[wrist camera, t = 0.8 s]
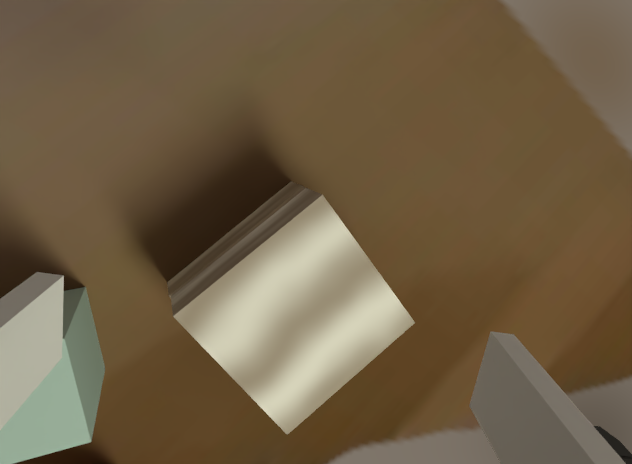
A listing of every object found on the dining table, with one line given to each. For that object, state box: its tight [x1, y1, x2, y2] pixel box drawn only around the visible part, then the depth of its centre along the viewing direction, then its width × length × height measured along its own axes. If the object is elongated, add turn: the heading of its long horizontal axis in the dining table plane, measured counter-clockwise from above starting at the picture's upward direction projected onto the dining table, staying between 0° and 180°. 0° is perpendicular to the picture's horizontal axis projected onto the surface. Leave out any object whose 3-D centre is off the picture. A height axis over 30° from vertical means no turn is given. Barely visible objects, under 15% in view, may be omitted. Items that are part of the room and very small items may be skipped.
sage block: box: [0, 287, 105, 464], centre depth 33 cm, size 7×7×10 cm
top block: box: [171, 188, 415, 434], centre depth 38 cm, size 13×13×4 cm
